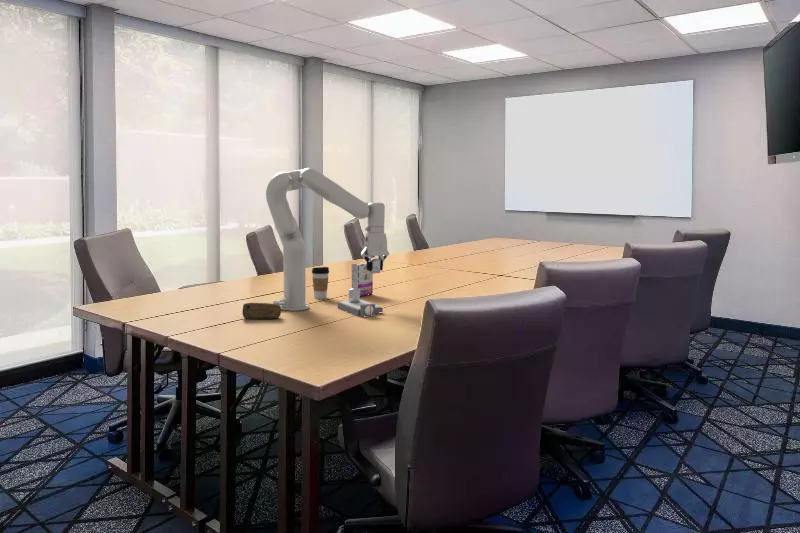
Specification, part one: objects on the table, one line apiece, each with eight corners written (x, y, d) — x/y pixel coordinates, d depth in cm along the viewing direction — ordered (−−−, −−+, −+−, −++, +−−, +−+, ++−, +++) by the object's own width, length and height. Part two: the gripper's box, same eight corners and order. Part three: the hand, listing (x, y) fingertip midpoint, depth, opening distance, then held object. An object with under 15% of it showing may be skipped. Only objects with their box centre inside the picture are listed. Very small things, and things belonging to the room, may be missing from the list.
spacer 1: (352, 303, 260) (352, 290, 260) (346, 301, 265) (346, 288, 264) (361, 302, 263) (362, 289, 262) (356, 300, 267) (356, 287, 267)
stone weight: (242, 321, 236) (241, 304, 235) (243, 317, 243) (243, 301, 242) (280, 320, 239) (280, 304, 238) (280, 316, 246) (280, 301, 245)
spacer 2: (372, 273, 264) (373, 259, 263) (367, 271, 268) (367, 258, 267) (382, 272, 267) (382, 259, 266) (376, 271, 271) (376, 258, 270)
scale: (362, 317, 246) (362, 306, 245) (337, 308, 265) (337, 297, 264) (386, 314, 252) (386, 303, 252) (361, 305, 271) (361, 295, 271)
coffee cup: (327, 299, 285) (327, 268, 283) (310, 299, 285) (310, 268, 283) (330, 296, 293) (330, 266, 291) (313, 296, 293) (313, 266, 291)
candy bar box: (365, 293, 303) (365, 261, 301) (372, 294, 300) (373, 262, 298) (350, 296, 294) (351, 263, 292) (358, 297, 291) (358, 264, 289)
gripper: (363, 231, 257) (362, 272, 259) (396, 230, 267) (394, 270, 269) (355, 229, 263) (354, 270, 265) (387, 229, 273) (386, 268, 275)
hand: (374, 269), depth 267 cm, fingers closed on spacer 2, 5 cm apart
